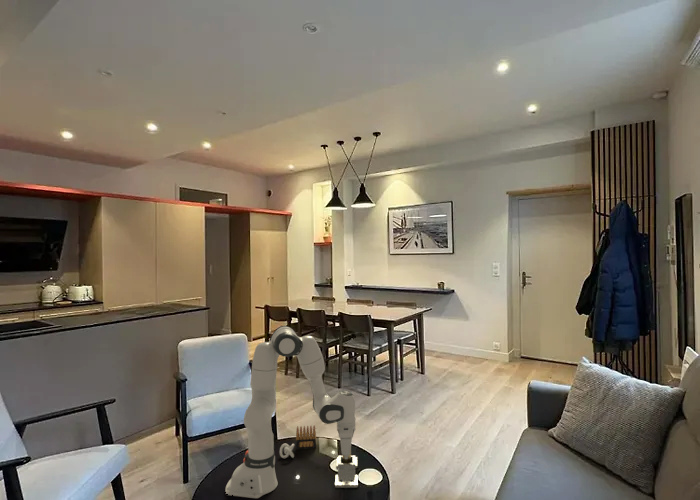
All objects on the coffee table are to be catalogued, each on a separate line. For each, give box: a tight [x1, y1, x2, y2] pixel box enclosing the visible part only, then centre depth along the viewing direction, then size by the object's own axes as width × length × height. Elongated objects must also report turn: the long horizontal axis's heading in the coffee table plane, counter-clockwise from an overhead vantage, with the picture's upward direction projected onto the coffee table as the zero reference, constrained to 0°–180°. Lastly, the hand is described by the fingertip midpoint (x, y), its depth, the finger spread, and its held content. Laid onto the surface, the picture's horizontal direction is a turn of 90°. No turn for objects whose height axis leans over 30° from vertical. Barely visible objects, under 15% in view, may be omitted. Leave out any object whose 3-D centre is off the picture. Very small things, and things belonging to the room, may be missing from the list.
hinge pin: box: [341, 451, 352, 463], centre depth 187 cm, size 4×4×9 cm
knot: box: [279, 443, 296, 459], centre depth 203 cm, size 8×8×6 cm
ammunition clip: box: [295, 425, 317, 450], centre depth 211 cm, size 11×2×12 cm, turn 96°
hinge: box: [334, 455, 359, 489], centre depth 187 cm, size 10×24×6 cm, turn 0°
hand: (346, 455), depth 187 cm, fingers closed on hinge pin, 4 cm apart
